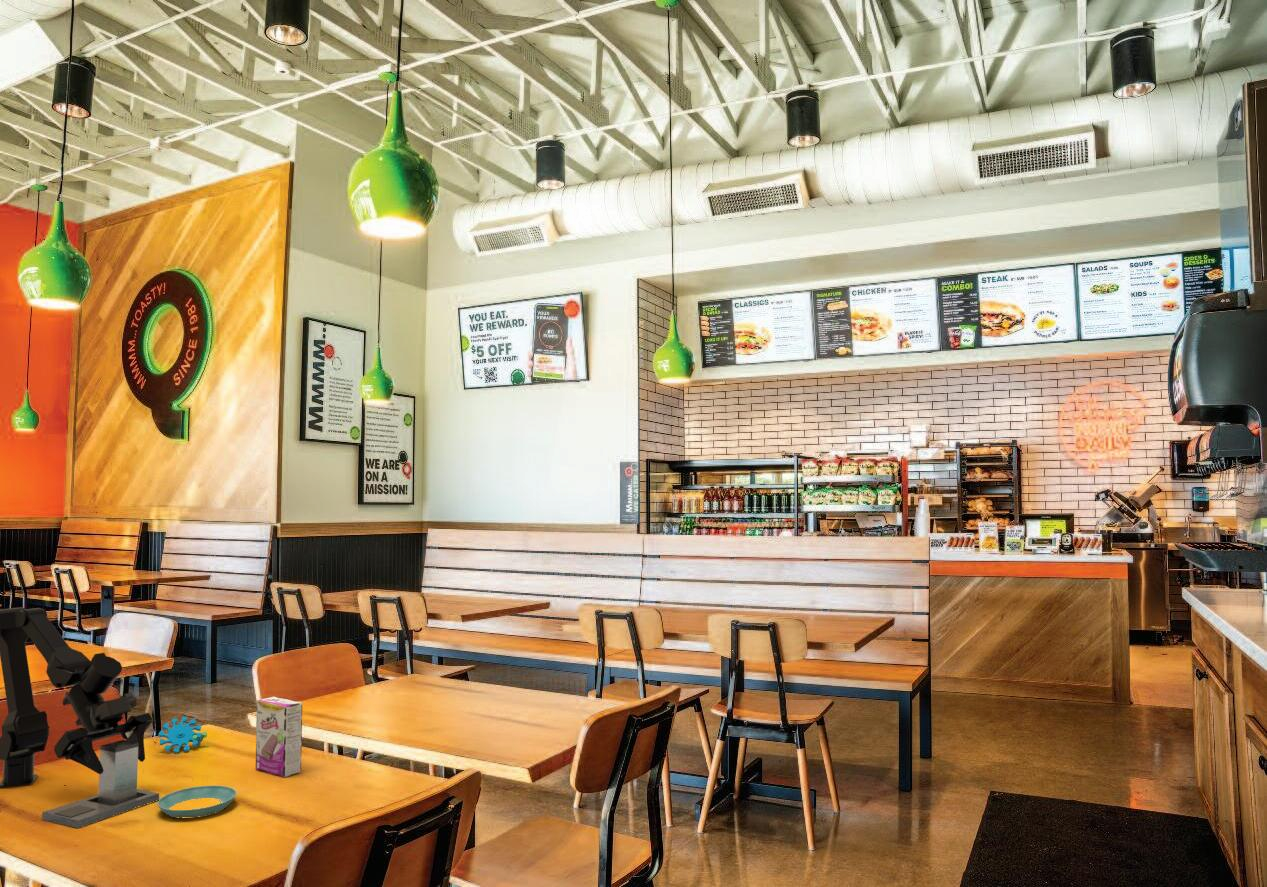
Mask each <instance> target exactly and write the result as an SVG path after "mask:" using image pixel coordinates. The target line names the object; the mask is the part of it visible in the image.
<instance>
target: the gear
mask: <svg viewBox="0 0 1267 887" xmlns="http://www.w3.org/2000/svg"><path fill="white" fill-rule="evenodd" d="M177 723H178V718H175V717H174V718H172V719H171V724H172V728H169V727H170V725H169V722H168V723H164V724H162V729H164V730H166V732H167V733H165V732H164V730H160V731H159V732H158V734H157V735H158V736H157V737H159V738H160V739H159V746H163V745H164V750H165V752H170V751H171V749H172V748H173V750H172V751H173V753H174V754H176V753H178V754H179V753H180V749H181V747H182V746H184V747H183V752H184V753H186V752H190V746H189V743H192V744H191V745H192V747H196V746H198V747H200V746H201V745H202V743H201V742H203V741H204V739H206V738H207V736H208V732H207V731H203V732H200V731H202V725H201V724H198V725H197V720H196V719H195V718H191V720H190V721H189V722H188V717H187V716H181V721H180V723H178V724H177ZM184 723H185V724H184ZM194 725H195V726H194ZM194 730H195V731H197V732H195V731H194ZM164 738H166V739H164ZM165 744H167V745H165ZM199 745H200V746H199ZM176 746H177V747H176ZM174 747H175V748H174Z"/></svg>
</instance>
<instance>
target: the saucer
mask: <svg viewBox="0 0 1267 887" xmlns="http://www.w3.org/2000/svg"><path fill="white" fill-rule="evenodd" d="M237 792H238V791H236V789H235V788H233V787H230V786H225V785H224V786H223V785H201V786H200V785H199V786H193V787H188V788H183V789H179V790H175V791H173V792H170V793H167V794H166V795H164V796H162V797H161V798H160V797H159V801H156V802H157V804H156V805H157V807H158V808H159V809H160V810H161V811H162V812H163V813H164V814H166V815H167V816H168V815H169V816H168V817H170V816H172V817H171V818H173V817H179V818H182V817H198V816H204V817H206V816H205V815H208V816H210V815H209V814H212V815H214V814H213V813H215V812H217V813H219V812H218V811H220V812H221V810H222V811H223V810H224V808H225V809H226V808H227V807H228V806H229V805H230V804H231V803H232V802H233V800H235V797H236V796H237ZM199 798H200V799H201V798H215V799H220V800H221V801H222V802H223V803H221V801H220V800H219V801H220V804H217V805H214V806H210V807H206V808H200V809H192V810H170V809H169V808H170V807H172V806H174V805H175V804H177V803H181V802H183V801H187V800H191V799H199ZM215 814H216V813H215ZM179 818H178V819H179ZM198 818H199V817H198Z"/></svg>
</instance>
